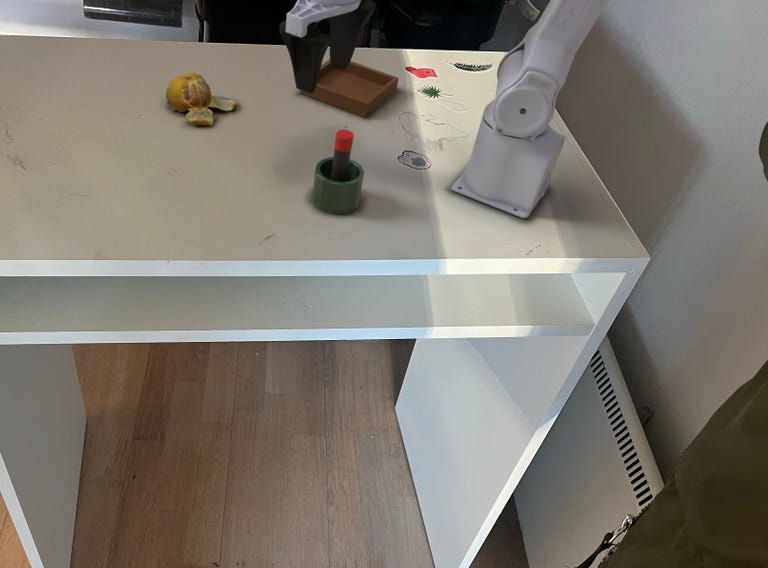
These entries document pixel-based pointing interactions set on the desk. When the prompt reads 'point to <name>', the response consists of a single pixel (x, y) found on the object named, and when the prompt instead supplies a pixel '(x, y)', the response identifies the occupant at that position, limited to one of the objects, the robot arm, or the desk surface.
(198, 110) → the fruit
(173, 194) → the desk surface
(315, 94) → the brown tray
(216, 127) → the desk surface
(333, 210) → the green hollow cylinder
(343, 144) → the marker
